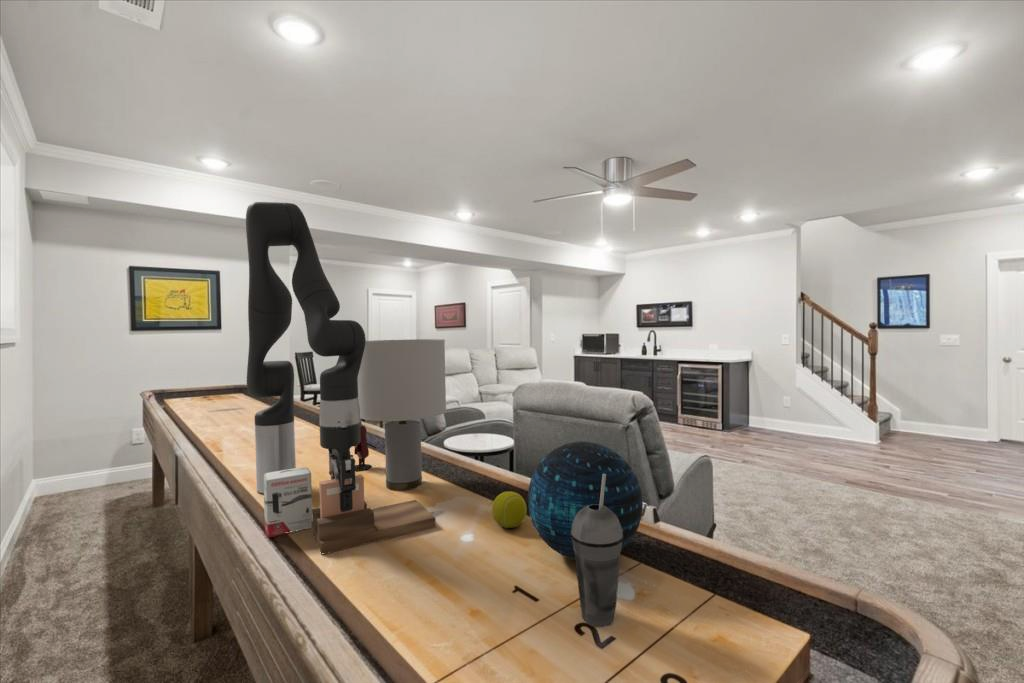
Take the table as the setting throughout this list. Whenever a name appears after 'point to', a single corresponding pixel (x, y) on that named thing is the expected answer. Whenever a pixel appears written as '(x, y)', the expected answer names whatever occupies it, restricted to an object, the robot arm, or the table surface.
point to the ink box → (287, 501)
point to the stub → (332, 496)
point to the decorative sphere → (581, 492)
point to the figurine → (362, 450)
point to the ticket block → (369, 525)
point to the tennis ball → (509, 509)
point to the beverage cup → (597, 560)
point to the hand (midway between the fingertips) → (342, 504)
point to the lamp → (402, 399)
